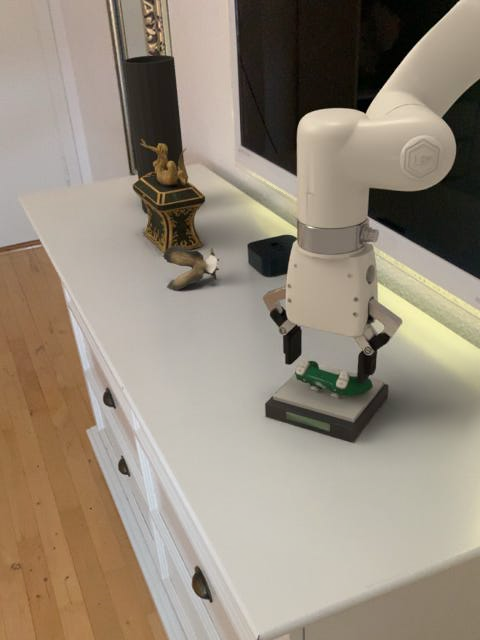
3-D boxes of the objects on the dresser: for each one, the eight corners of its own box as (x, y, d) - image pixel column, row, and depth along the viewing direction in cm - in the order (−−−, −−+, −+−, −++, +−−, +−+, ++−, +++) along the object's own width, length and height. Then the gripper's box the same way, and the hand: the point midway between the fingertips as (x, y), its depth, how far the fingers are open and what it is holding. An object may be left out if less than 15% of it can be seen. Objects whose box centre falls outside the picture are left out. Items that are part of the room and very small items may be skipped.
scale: (387, 397, 91) (389, 380, 89) (352, 442, 83) (353, 425, 82) (304, 375, 96) (305, 359, 95) (265, 416, 89) (264, 399, 87)
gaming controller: (302, 389, 92) (283, 376, 87) (313, 362, 92) (295, 348, 87) (364, 410, 87) (349, 398, 82) (376, 382, 87) (361, 368, 82)
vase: (186, 214, 153) (171, 61, 136) (140, 216, 154) (119, 64, 136) (189, 199, 162) (175, 54, 144) (145, 201, 162) (127, 56, 145)
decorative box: (136, 232, 146) (122, 132, 134) (180, 224, 149) (170, 125, 137) (169, 265, 130) (157, 155, 119) (217, 254, 134) (209, 146, 122)
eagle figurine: (207, 261, 128) (159, 261, 125) (217, 236, 122) (167, 235, 119) (215, 296, 125) (166, 297, 122) (226, 272, 119) (175, 272, 116)
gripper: (420, 233, 75) (406, 370, 85) (278, 212, 83) (281, 340, 93) (394, 258, 70) (382, 401, 80) (246, 233, 78) (252, 366, 88)
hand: (328, 368), depth 86 cm, fingers open, 9 cm apart
